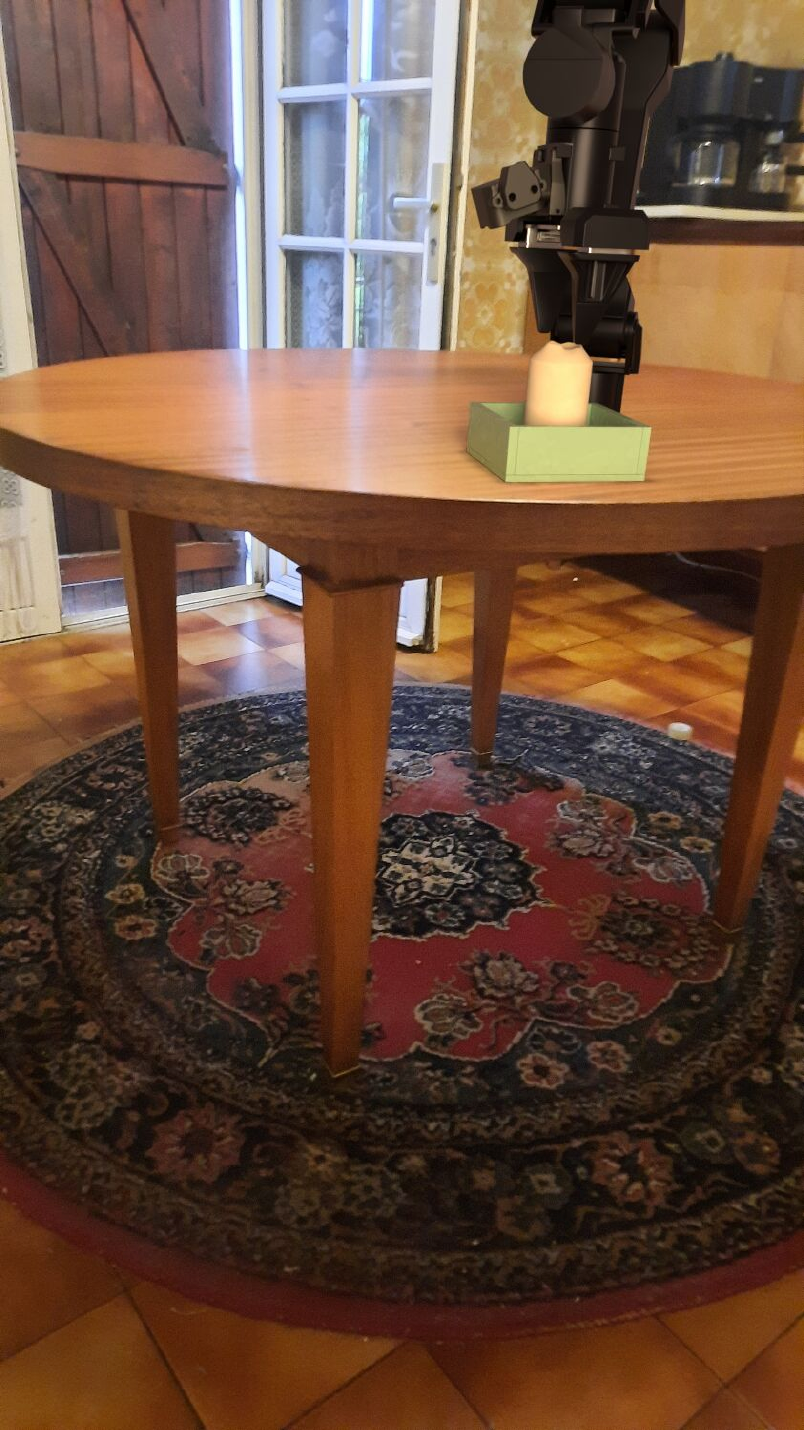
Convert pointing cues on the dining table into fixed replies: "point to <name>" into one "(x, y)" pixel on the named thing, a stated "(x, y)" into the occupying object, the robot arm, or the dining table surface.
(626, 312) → the robot arm
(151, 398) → the dining table surface
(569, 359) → the candle
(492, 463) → the green open tray
